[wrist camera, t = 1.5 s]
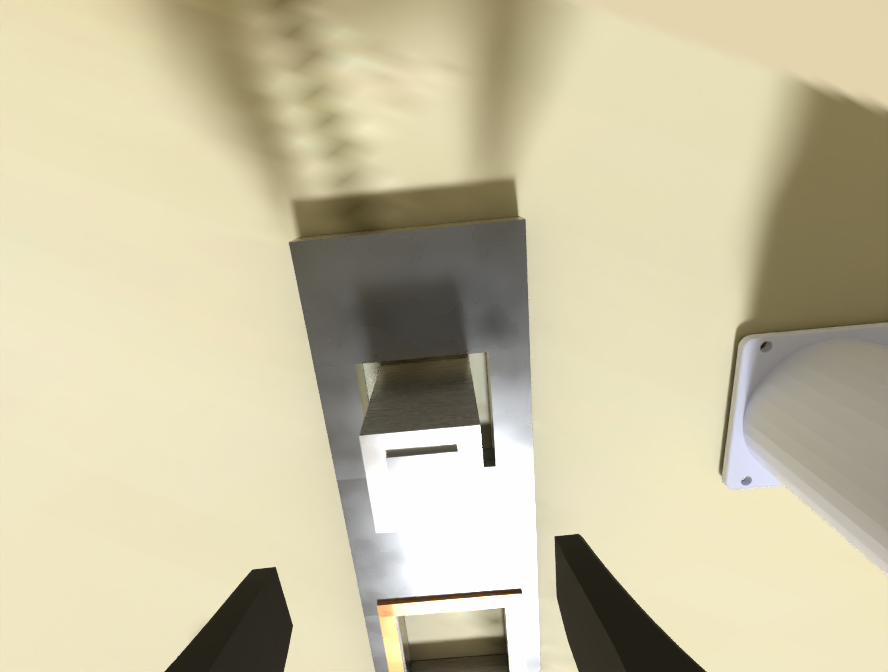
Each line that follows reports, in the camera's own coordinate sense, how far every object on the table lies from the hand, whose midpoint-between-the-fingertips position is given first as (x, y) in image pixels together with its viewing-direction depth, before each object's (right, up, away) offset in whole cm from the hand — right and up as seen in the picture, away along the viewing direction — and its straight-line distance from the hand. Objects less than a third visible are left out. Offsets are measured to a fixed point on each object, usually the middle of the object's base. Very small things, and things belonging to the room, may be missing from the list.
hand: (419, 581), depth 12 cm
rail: (+1, -3, +12) cm, 12 cm away
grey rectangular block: (0, +3, +9) cm, 10 cm away
